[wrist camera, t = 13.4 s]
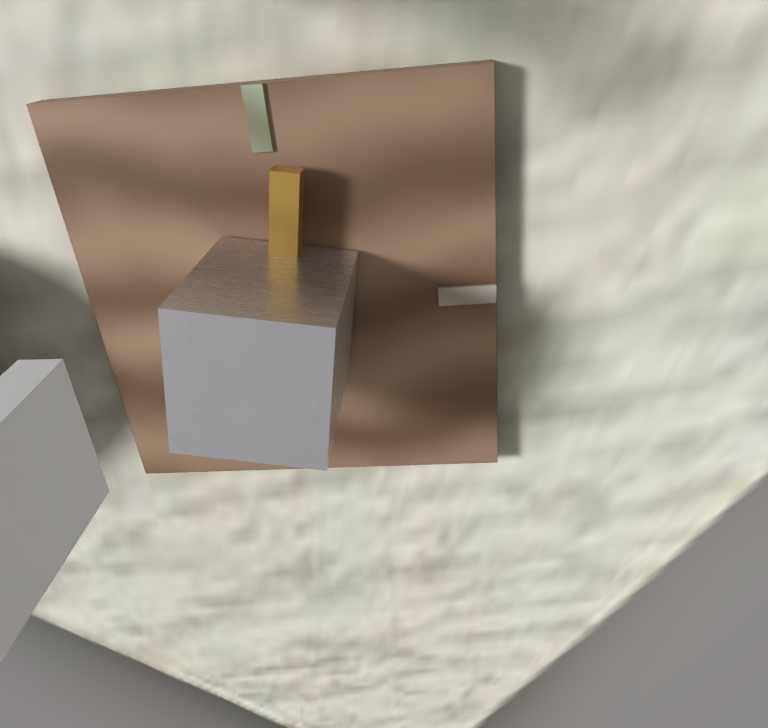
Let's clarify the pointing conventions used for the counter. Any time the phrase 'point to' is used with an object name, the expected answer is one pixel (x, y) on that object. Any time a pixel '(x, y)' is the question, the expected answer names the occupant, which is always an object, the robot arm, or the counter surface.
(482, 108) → the board
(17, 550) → the robot arm
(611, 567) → the counter surface
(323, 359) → the grey block with bar
